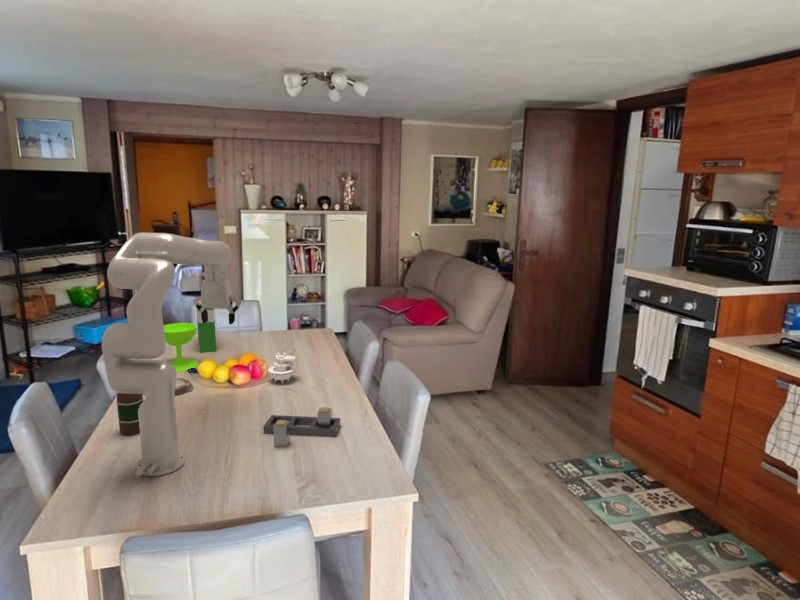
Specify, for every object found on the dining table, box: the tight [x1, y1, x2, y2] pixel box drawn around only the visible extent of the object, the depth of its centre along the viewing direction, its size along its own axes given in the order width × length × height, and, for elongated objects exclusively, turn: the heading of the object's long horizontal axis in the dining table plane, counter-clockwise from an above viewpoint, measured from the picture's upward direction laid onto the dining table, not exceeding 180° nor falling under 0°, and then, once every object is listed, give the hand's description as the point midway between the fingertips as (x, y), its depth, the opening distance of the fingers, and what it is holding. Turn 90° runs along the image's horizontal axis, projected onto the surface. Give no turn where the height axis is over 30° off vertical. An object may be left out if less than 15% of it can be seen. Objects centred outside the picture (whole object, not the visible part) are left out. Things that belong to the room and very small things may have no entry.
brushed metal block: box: [273, 420, 291, 448], centre depth 164 cm, size 4×4×8 cm
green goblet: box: [163, 322, 200, 374], centre depth 231 cm, size 16×16×18 cm
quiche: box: [175, 377, 195, 397], centre depth 206 cm, size 21×20×4 cm
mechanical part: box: [267, 352, 297, 384], centre depth 217 cm, size 11×12×12 cm
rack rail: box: [263, 414, 341, 438], centre depth 175 cm, size 24×9×2 cm, turn 87°
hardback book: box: [195, 296, 217, 354], centre depth 258 cm, size 18×7×24 cm, turn 23°
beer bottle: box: [116, 392, 144, 436], centre depth 169 cm, size 8×8×24 cm
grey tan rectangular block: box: [317, 406, 333, 428], centre depth 174 cm, size 4×4×8 cm
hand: (218, 323), depth 188 cm, fingers open, 9 cm apart
